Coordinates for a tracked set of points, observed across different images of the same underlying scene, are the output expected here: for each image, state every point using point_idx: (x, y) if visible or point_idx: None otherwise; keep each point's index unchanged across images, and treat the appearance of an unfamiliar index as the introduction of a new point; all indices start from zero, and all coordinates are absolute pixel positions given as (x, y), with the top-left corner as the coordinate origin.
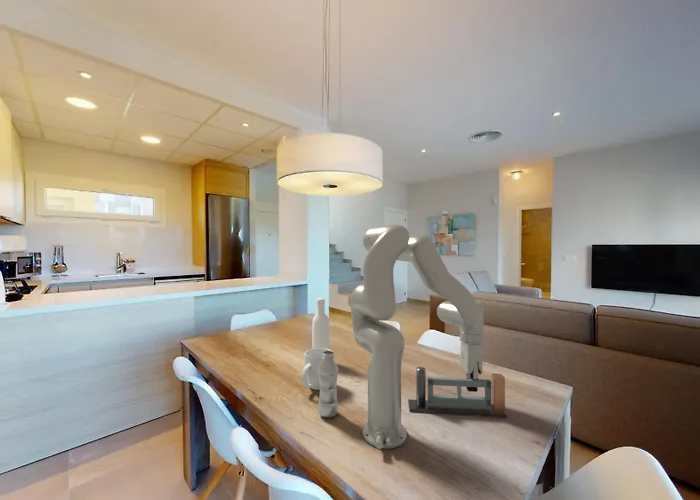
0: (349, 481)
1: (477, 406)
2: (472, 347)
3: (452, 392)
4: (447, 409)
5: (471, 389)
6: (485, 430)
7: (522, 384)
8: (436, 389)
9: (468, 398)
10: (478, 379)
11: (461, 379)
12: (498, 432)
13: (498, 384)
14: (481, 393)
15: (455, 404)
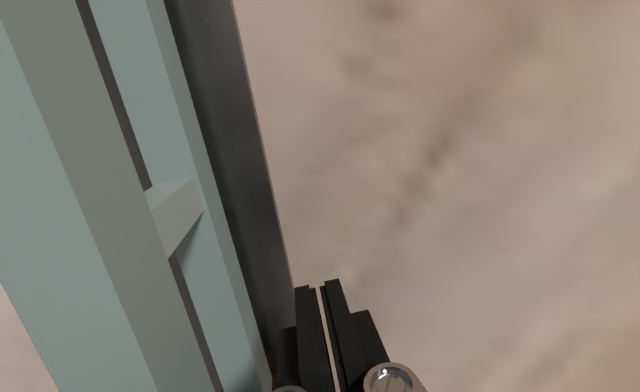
0: None
1: (249, 298)
2: None
3: (455, 136)
4: (111, 85)
5: (280, 331)
6: (8, 316)
7: None
8: (487, 4)
9: (195, 276)
10: None
11: (82, 345)
12: (27, 375)
13: None
14: (472, 316)
15: (223, 153)
